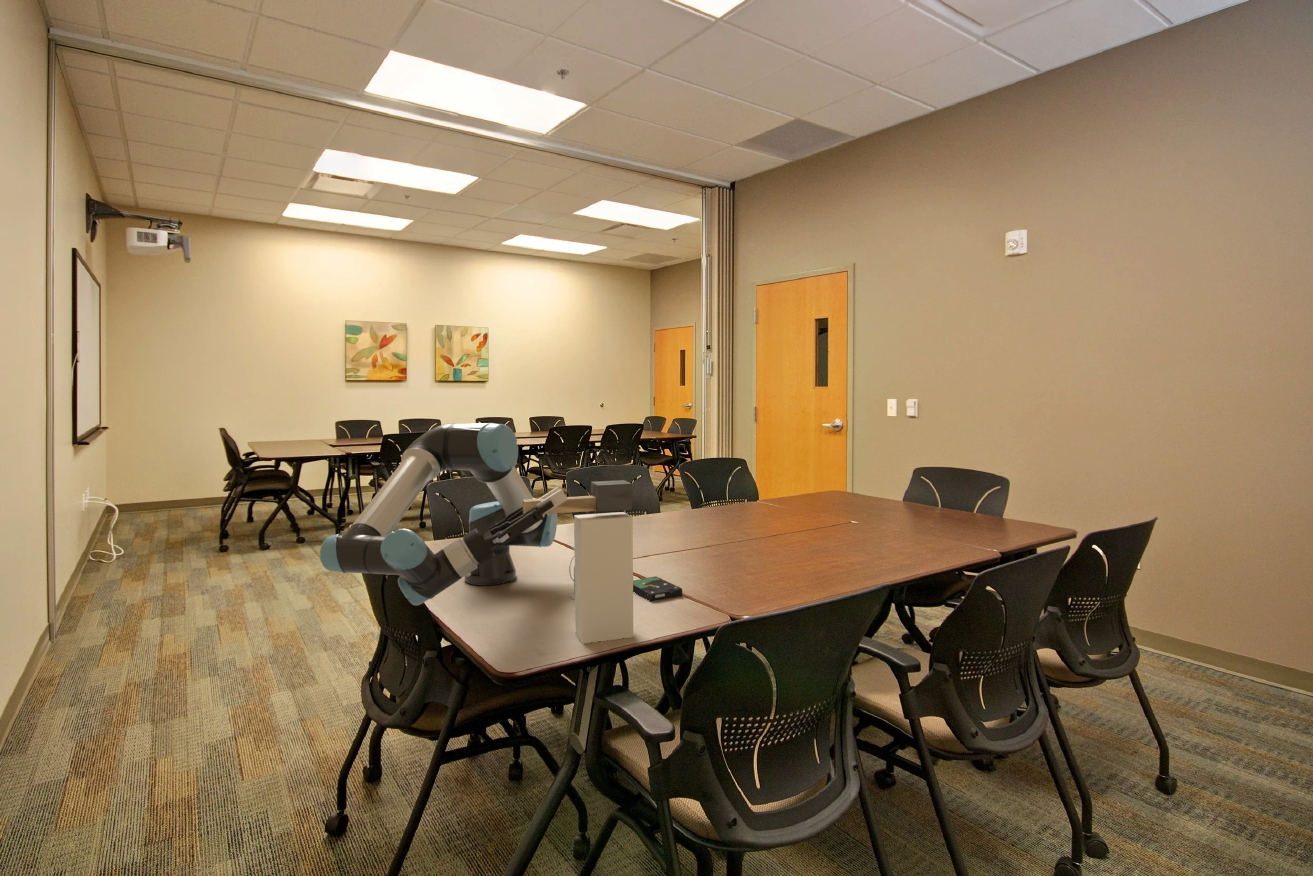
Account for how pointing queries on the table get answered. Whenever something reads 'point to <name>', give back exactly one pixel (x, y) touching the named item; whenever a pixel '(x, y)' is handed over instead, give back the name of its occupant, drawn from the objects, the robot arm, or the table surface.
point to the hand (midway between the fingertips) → (562, 493)
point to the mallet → (593, 499)
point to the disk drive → (656, 589)
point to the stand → (603, 576)
